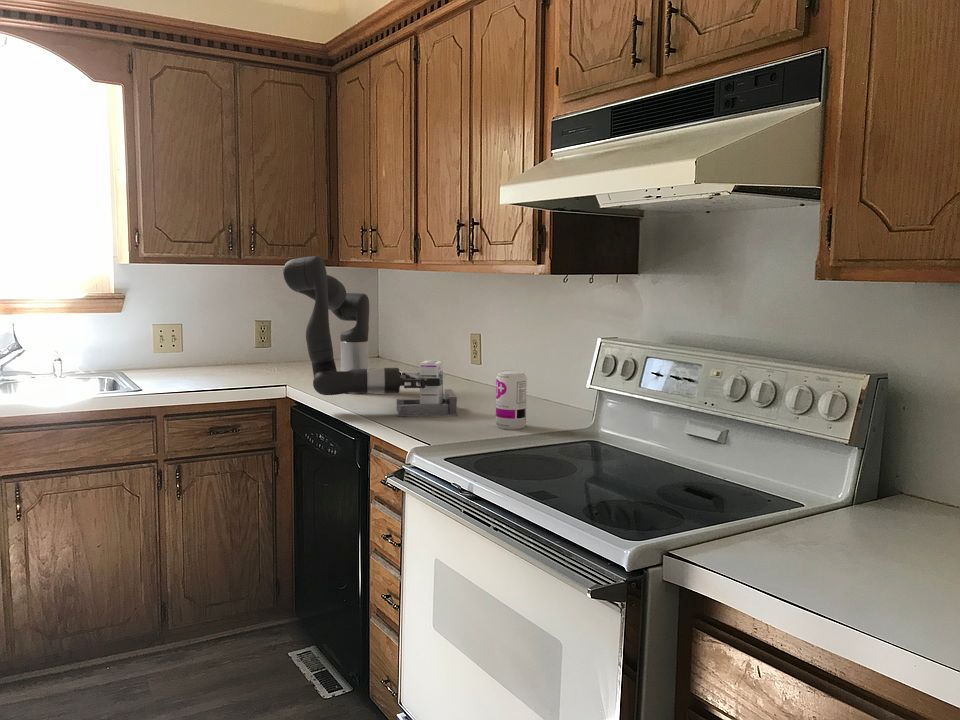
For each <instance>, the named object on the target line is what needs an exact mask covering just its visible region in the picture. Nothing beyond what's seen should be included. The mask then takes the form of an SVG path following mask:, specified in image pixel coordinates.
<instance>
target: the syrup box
mask: <svg viewBox="0 0 960 720" xmlns="http://www.w3.org/2000/svg"><path fill="white" fill-rule="evenodd" d="M443 367H444V366H443V361H442V360H441V361H440V360H424V361H422V362H421V363H419V372H420V377H421V378H439V379H440V385H439V386H427V387H425V388H419V399H420V404H443V398H444V376H443V375H444V372H443V371H444V369H443Z"/></svg>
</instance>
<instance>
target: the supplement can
mask: <svg viewBox="0 0 960 720" xmlns="http://www.w3.org/2000/svg"><path fill="white" fill-rule="evenodd" d="M527 379H528V378H527V376H526V373H525V372H524V371H521V370H514V369H513V370H507V369H506V370H501V371H498V374H497V375H496V377H495V380H496V381H495V385H496V386H495V426H497V428H499V429H502V430H509V431H511V430H512V431H513V430H514V431H515V430H522V429H523V428H524V427H525V426H527V383H528V381H527Z"/></svg>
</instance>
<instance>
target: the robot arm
mask: <svg viewBox="0 0 960 720" xmlns="http://www.w3.org/2000/svg"><path fill="white" fill-rule="evenodd" d="M326 268H327V267H326V265H325V262H324V260H323V259H322V258H321V257H320V256H318V255H313V256H305V257H298V258H292V259H290V260H288V261H287V262H286V263H285V264H284V266H283V270H282V275H283V278H284V281H285V283H286V285H287V286H288V288H289V289H291V290H292V291H294V292H296V293H299V294H302V295H304V296H307V297H308V298H310V299H311V300H314V306H313V309H312V312H311V315H310V316H309V320H308V322H307V326H306V330H305V341H306V346H307V352H308V356H309V360H310V362H311V366H312V374H313V381H312V386H313V389H314V390H315V391H316V392H317V393H318V394H319V395H323V396H336V395H337V396H338V395H344V394H377V395H379V394H381V395H382V394H383V395H384V394H399V393H400V391H401V389H400V388H401V387H403V388H404V389H420V388H425V387H427V386H439V385H440V379H439V378H421V377H420V371H419V372H401V373H400V369H399V368H398V367H373V368H372V367H371V368H369V331H370V330H369V325H370V300H369V296H368V295H367V294H366V293H362V292H361V293H360V292H359V293H358V292H356V293H355V292H352V293H351V292H347V290H346V287H345V285H344V284H343V283H342V282H341V281H340V280H339V279H337V278H335V277H334V276H332V275H329V274H328V273H327V269H326ZM329 310H330V312H331V313H332V314H334V316H336V318H337V319H339V320H341V321H344V322H348V321H350V322H355V323H356V324H355V326H354V327H352V328H351V329H348V330H345V331H342V332H341V333H340V341H339V342H340V371H338V370H337V367H336V361H335V357H334V349H333V348H334V347H333V342H332V335H331V330H330V319H329V318H330V317H329Z"/></svg>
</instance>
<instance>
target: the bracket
mask: <svg viewBox="0 0 960 720" xmlns="http://www.w3.org/2000/svg"><path fill="white" fill-rule="evenodd" d="M457 398H458V397H457V395H456V394H455V393H454V391H453V389H452V388H449V389H448V388H444V397H443V404H420V398H397V399H396V407H395V408H396V412H398V413H397V416H418V417H419V416H422V417H455V416H456V417H457V416H458V411H457V409H458V408H457V406H458V405H457V404H458V403H457V402H458V399H457ZM419 418H420V417H419Z"/></svg>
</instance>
